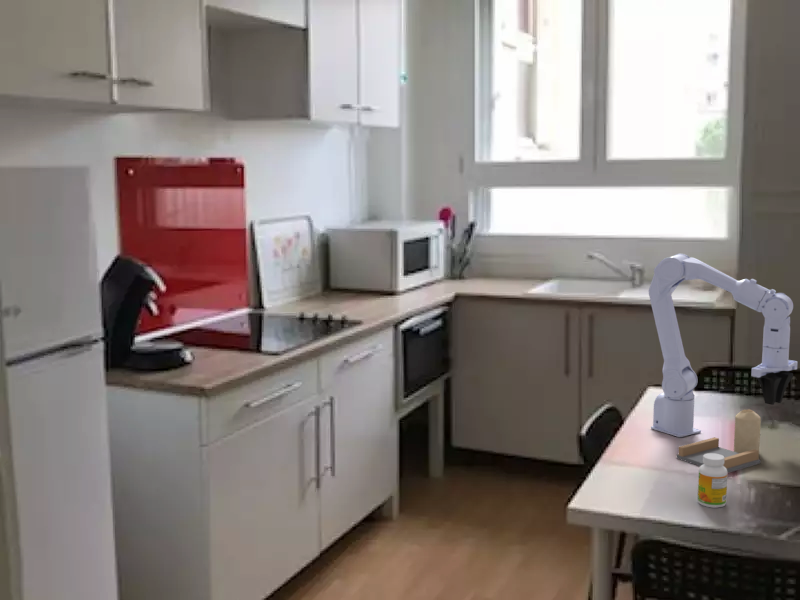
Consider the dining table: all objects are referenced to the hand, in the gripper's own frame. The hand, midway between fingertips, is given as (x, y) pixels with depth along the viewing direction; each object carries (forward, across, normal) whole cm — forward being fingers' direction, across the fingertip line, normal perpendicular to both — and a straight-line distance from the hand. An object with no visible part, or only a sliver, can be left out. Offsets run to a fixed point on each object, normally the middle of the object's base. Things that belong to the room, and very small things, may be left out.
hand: (772, 402), depth 217 cm
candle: (+11, -9, 0) cm, 14 cm away
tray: (+10, -19, 0) cm, 22 cm away
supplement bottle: (+11, -41, -16) cm, 45 cm away
